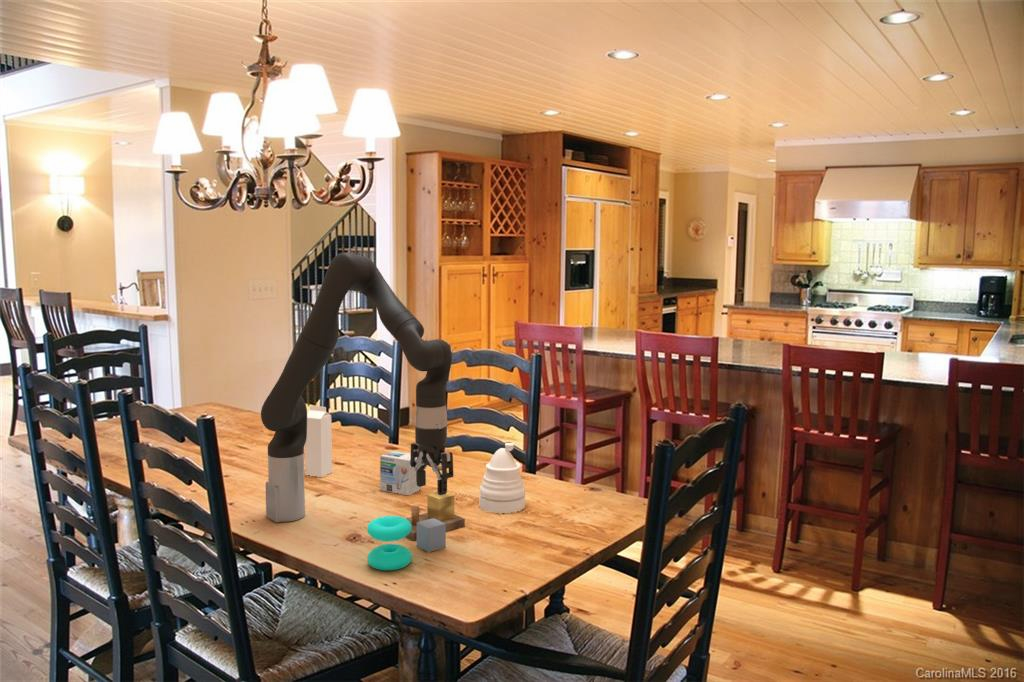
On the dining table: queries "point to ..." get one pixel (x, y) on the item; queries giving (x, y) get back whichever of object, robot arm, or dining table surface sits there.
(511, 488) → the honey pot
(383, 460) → the light bulb box
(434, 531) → the pale grey cube
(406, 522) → the donuts
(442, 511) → the brown wooden stand
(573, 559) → the dining table surface
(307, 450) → the milk
